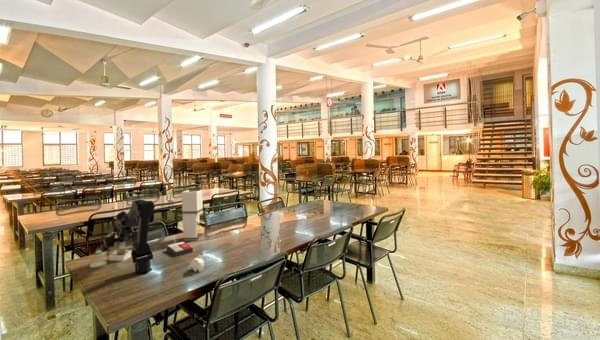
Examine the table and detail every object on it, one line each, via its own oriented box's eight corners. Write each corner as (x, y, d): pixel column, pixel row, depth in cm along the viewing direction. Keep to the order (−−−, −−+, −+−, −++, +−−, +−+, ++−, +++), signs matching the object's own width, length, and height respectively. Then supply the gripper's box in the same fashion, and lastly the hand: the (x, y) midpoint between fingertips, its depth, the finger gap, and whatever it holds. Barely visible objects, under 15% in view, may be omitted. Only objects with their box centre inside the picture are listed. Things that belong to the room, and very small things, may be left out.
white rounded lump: (191, 267, 163) (190, 254, 163) (208, 267, 163) (207, 254, 162) (185, 272, 156) (184, 259, 155) (203, 272, 155) (202, 259, 155)
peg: (127, 256, 182) (126, 235, 181) (122, 259, 177) (121, 237, 176) (120, 256, 182) (118, 235, 181) (114, 259, 177) (113, 237, 176)
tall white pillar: (198, 240, 212) (196, 191, 210) (183, 240, 212) (181, 192, 210) (203, 235, 223) (202, 189, 221) (189, 236, 223) (187, 190, 221)
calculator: (175, 251, 180) (166, 244, 191) (175, 258, 180) (166, 251, 191) (193, 247, 187) (183, 240, 198) (193, 253, 188) (183, 246, 199)
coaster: (110, 262, 173) (110, 261, 173) (100, 267, 165) (100, 266, 165) (97, 262, 173) (96, 261, 173) (86, 267, 165) (86, 266, 165)
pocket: (133, 255, 184) (132, 250, 183) (123, 260, 175) (123, 255, 175) (119, 255, 184) (118, 250, 184) (109, 260, 175) (108, 255, 175)
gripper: (138, 217, 182) (132, 232, 190) (103, 223, 168) (98, 239, 176) (144, 232, 178) (138, 247, 186) (108, 240, 164) (103, 255, 172)
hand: (119, 246), depth 180 cm, fingers open, 9 cm apart
